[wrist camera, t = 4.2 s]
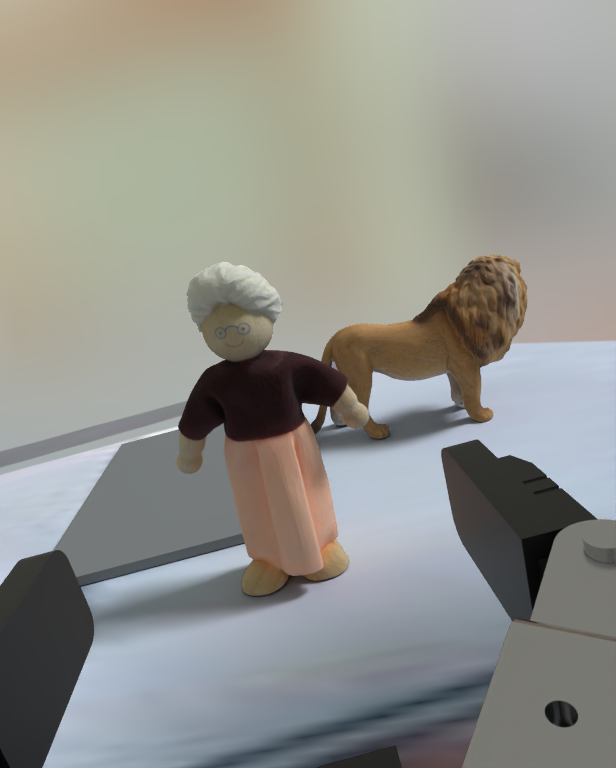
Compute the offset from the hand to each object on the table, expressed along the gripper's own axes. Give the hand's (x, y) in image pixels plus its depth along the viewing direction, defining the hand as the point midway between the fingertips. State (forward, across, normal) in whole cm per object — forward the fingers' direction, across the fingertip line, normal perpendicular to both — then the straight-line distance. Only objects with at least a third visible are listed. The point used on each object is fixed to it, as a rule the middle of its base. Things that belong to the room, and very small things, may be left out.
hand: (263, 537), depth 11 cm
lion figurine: (+22, -9, +8) cm, 25 cm away
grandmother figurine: (+10, 0, +8) cm, 13 cm away
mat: (+22, +6, +8) cm, 24 cm away
